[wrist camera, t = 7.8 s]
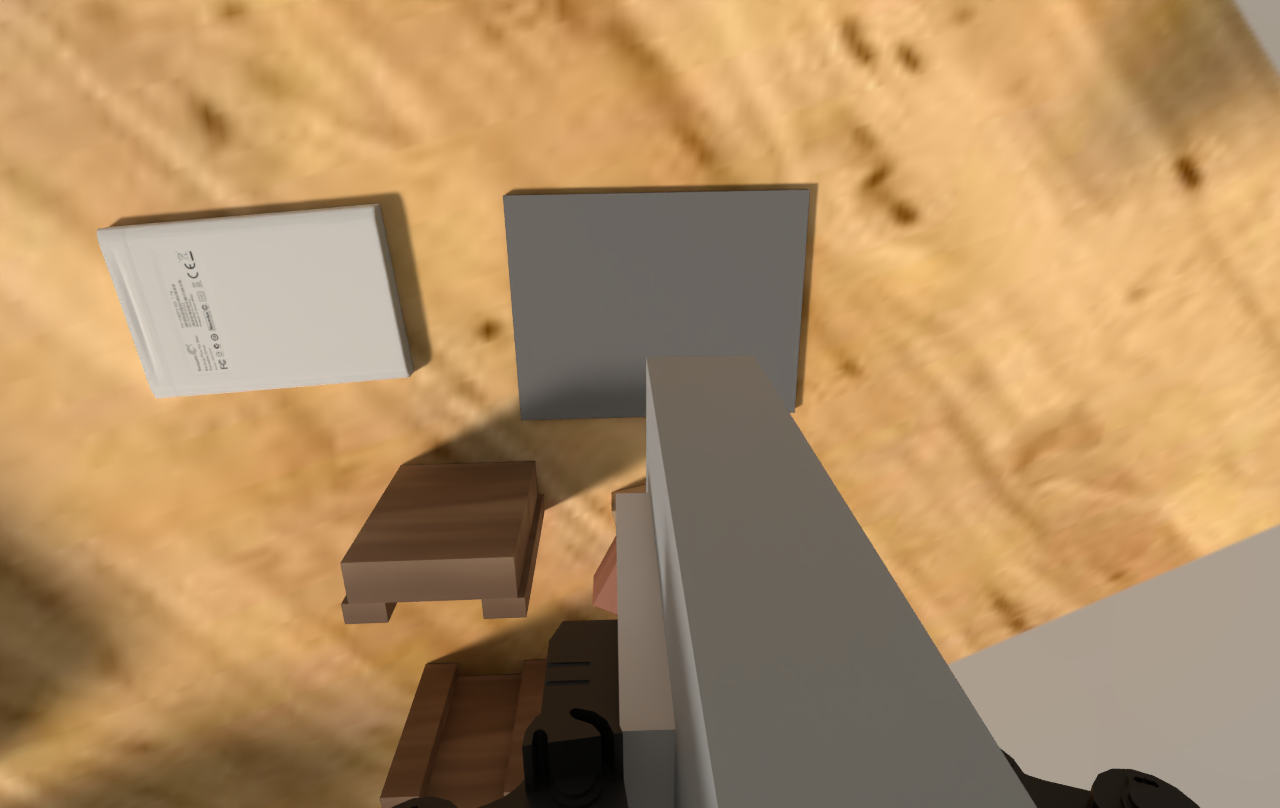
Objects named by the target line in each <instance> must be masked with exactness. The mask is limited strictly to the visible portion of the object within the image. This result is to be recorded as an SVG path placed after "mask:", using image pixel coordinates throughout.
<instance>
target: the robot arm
mask: <svg viewBox="0 0 1280 808" xmlns="http://www.w3.org/2000/svg"><path fill="white" fill-rule="evenodd" d="M616 546H617V603H618V620H590V621H563V622H562V623H561V625H560V626H559V628H558V629H557V630H556V632H555V633H554V635H553V636H552V638H551V639H550V640H549V647H548V656H547V667H546V673H545V685H544V690H543V698H542V707H541V714H539V715H538V716H536V717H535V719H534V720H533V721H532V723H531V724H530V725H529V726H528V728H527V729H526V730H525V735H524V739H523V743H522V754H523V766H524V778H525V779H524V780H523V781H522V782H521V784H520V785H519V786H518V787H517V788H516V789H514V790H513V791H511V792H510V793H509V794H507V795H506V796H504V797H503V798H500V799H498V800H496V801H494V802H491V803H489V804H486V805H483V806H480V807H477V808H674V781H675V720H674V711H673V702H672V693H671V684H670V675H669V665H668V656H667V647H666V638H665V629H664V620H663V611H662V602H661V592H660V583H659V574H658V565H657V556H656V547H655V538H654V529H653V519H652V510H651V501H650V493H618V494H616ZM1001 751H1002V753H1003V754H1004V756H1005V757H1006V759H1007V761H1008V762H1009V764H1010V765H1011V767H1012V769H1013V770H1014V772H1015V773H1016V775H1017V776H1018V778H1019V780H1020V781H1021V783H1022V784H1023V786H1024V788H1025V789H1026V791H1027V792H1028V794H1029V796H1030V797H1031V799H1032V800H1033V802H1034V804H1035V805H1036V807H1037V808H1200V807H1199V806H1198V805H1197V804H1196V803H1194V802H1193V801H1192V800H1191V799H1190V798H1188V797H1187V796H1186V795H1184V794H1183V793H1182V792H1181V791H1180V790H1178V789H1177V788H1176V787H1174V786H1172V785H1170V784H1168V783H1166V782H1165V781H1163V780H1161V779H1159V778H1157V777H1155V776H1153V775H1149V774H1145V773H1142V772H1139V771H1136V770H1132V769H1110V770H1108V771H1105V772H1103V773H1100V774H1098V776H1097V778H1096V780H1095V781H1094V783H1093V785H1092V788H1091V791H1088V790H1083V789H1079V788H1074V787H1071V786H1066V785H1062V784H1057V783H1053V782H1049V781H1045V780H1041V779H1038V778H1035V777H1032V776H1029V775H1026V774H1024V773H1023V772H1022V770H1021V769H1020V767H1019V766H1018V765H1017V763H1016V762H1015V761H1014V759H1013V758H1012V757H1010V756H1009V755H1008V754H1007V753H1005V752H1004V751H1003V750H1002V749H1001ZM392 808H458V807H457V806H456V805H454V804H453V803H452V802H451V801H449V800H445V799H442V798H438V797H434V796H429V797H419V798H412V799H410V800H407V801H405V802H403V803H400V804H398V805H395V806H393V807H392Z"/></svg>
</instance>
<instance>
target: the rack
mask: <svg viewBox="0 0 1280 808" xmlns="http://www.w3.org/2000/svg"><path fill="white" fill-rule="evenodd" d="M543 517H544V497H543V495H538V492H537V479H536V465H535V461H523V462H491V463H458V464H425V465H401V466H400V467H399V469H398V471H397V472H396V474H395V476H394V477H393V479H392V480H391V482H390V484H389V485H388V487H387V488H386V490H385V492H384V493H383V495H382V497H381V498H380V500H379V501H378V503H377V505H376V506H375V508H374V510H373V511H372V513H371V514H370V516H369V518H368V519H367V521H366V522H365V524H364V526H363V527H362V529H361V531H360V532H359V534H358V535H357V537H356V539H355V540H354V542H353V543H352V545H351V547H350V548H349V550H348V552H347V553H346V555H345V556H344V558H343V560H342V561H341V563H340V564H341V569H342V574H343V579H344V584H345V589H346V594H347V595H346V596H345V598H344V600H343V602H342V604H341V606H342V611H343V616H344V621H345V624H361V623H387V622H389V620H390V617H391V615H392V613H393V611H394V609H395V606H396V604H397V602H419V601H446V600H473V599H482V608H483V617H484V619H494V618H521V617H527V611H528V605H529V599H530V593H531V588H532V582H533V576H534V570H535V564H536V558H537V552H538V546H539V541H540V535H541V529H542V523H543ZM546 667H547V660H525V662H524V668H523V674H509V675H484V676H459V677H458V670H457V663H446V664H426V665H425V668H424V671H423V674H422V677H421V680H420V683H419V686H418V688H417V691H416V694H415V697H414V700H413V703H412V706H411V709H410V712H409V715H408V718H407V721H406V724H405V726H404V729H403V732H402V735H401V738H400V741H399V744H398V747H397V750H396V753H395V756H394V759H393V761H392V764H391V767H390V770H389V773H388V776H387V779H386V782H385V785H384V788H383V791H382V794H381V796H380V801H381V806H382V808H392V807H393V806H395V805H398V804H400V803H403V802H405V801H407V800H410V799H412V798H419V797H429V796H434V797H438V798H442V799H445V800H449V801H451V802H452V803H453V804H454V805H456V806H457V807H458V808H477V807H480V806H483V805H486V804H489V803H491V802H494V801H496V800H498V799H500V798H503V797H504V796H506V795H507V794H509V793H510V792H511V791H513V790H514V789H516V788H517V787H518V786H519V785H520V784H521V782H522V781H523V780H524V779H525V778H524V766H523V754H522V743H523V739H524V735H525V730H526V729H527V728H528V726H529V725H530V724H531V723H532V721H533V720H534V719H535V717H536V716H538V715H539V714H541V707H542V698H543V690H544V685H545V673H546Z"/></svg>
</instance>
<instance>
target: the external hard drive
mask: <svg viewBox="0 0 1280 808" xmlns="http://www.w3.org/2000/svg"><path fill="white" fill-rule="evenodd" d="M97 238H98V243H99V245H100V248H101V251H102V254H103V256H104V259H105V262H106V265H107V268H108V270H109V273H110V275H111V278H112V281H113V284H114V287H115V290H116V292H117V295H118V298H119V301H120V304H121V306H122V309H123V312H124V315H125V318H126V321H127V324H128V326H129V330H130V332H131V335H132V338H133V341H134V344H135V346H136V349H137V352H138V355H139V358H140V360H141V363H142V366H143V369H144V372H145V375H146V378H147V380H148V384H149V386H150V389H151V391H152V393H153V394H154V396H155V397H156V398H168V397H180V396H194V395H206V394H219V393H232V392H244V391H255V390H268V389H280V388H292V387H303V386H315V385H328V384H340V383H351V382H362V381H371V380H385V379H396V378H408V377H410V376H411V375H412V374H413V373H414V368H413V363H412V359H411V354H410V349H409V344H408V339H407V335H406V330H405V325H404V320H403V315H402V310H401V305H400V300H399V296H398V291H397V286H396V281H395V276H394V271H393V266H392V262H391V257H390V252H389V247H388V242H387V237H386V232H385V227H384V222H383V217H382V212H381V207H380V204H379V203H375V204H365V205H353V206H341V207H330V208H320V209H308V210H297V211H285V212H273V213H262V214H252V215H239V216H228V217H216V218H205V219H193V220H182V221H170V222H159V223H147V224H136V225H123V226H112V227H106V228H101V229H98V230H97Z"/></svg>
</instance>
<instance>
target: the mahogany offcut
mask: <svg viewBox="0 0 1280 808" xmlns="http://www.w3.org/2000/svg"><path fill="white" fill-rule="evenodd" d="M593 606H596V607H598V608H601V609H604V610H606V611H609V612H611V613H614V614H617V615H618V603H617V546H616V537H615V539H614V540H613V542H612V544H611V546H610V548H609V549H608V551H607V553H606V555H605V557H604V558H603V560H602V562H601V564H600V566H599V568H598V569H597V571H596V573H595V575H594V585H593Z"/></svg>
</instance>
